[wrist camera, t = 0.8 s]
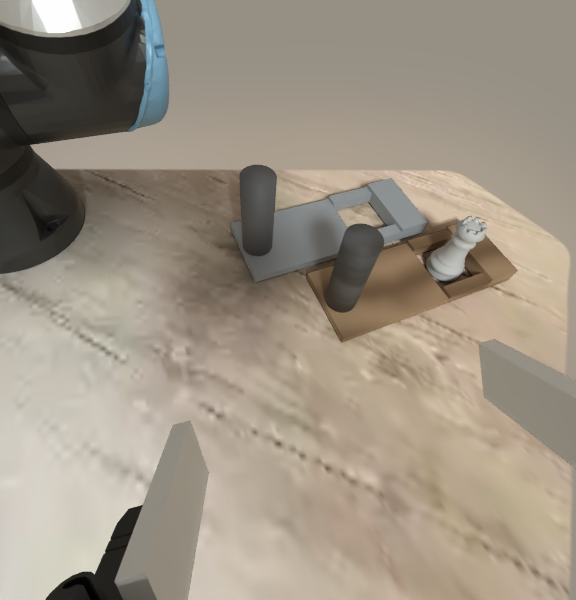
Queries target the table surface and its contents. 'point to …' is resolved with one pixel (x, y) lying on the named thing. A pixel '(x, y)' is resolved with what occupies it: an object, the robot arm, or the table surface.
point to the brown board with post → (395, 279)
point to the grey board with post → (310, 223)
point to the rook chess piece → (455, 250)
